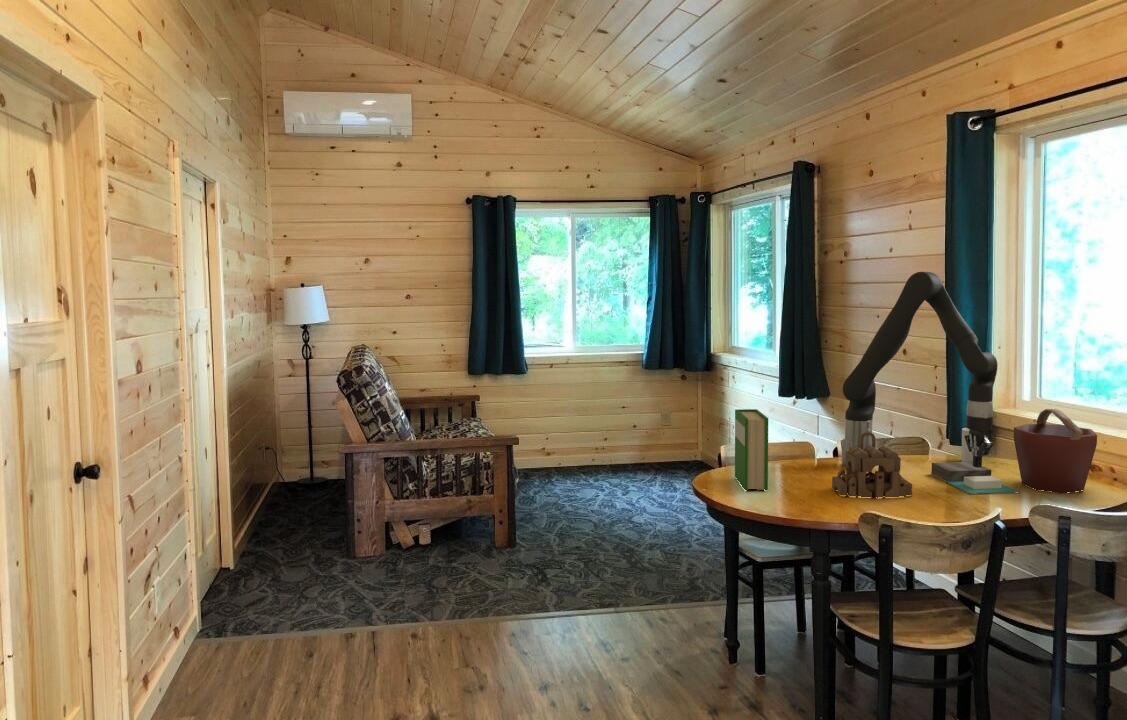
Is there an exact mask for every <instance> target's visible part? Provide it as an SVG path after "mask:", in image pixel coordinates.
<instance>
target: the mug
mask: <svg viewBox="0 0 1127 720" xmlns="http://www.w3.org/2000/svg"><path fill="white" fill-rule="evenodd" d="M969 430H970V429H968V428H967V427H964V428H961V462H973V455H972V452H969V449H968V446H967V443H966V440H965V437H964V436H965V435H969ZM983 457H984V456H982V458H983Z"/></svg>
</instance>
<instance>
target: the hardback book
mask: <svg viewBox="0 0 1127 720" xmlns="http://www.w3.org/2000/svg"><path fill="white" fill-rule="evenodd" d="M735 477H736V478H737V480H738V481H739V482H740V484H741V485H742V487H743V488H744V489H745V490H748V489H757V490H763V489H765V490H769V488H768V487H769V417H768V416H766V415H765V414H764V413H762V412H761V411H760V410H759V409H758V408H755V409H750V408H749V409H747V408H746V409H745V408H744V409H740V408H739V409H735V410H734V478H735ZM748 491H749V490H748Z"/></svg>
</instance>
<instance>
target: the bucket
mask: <svg viewBox="0 0 1127 720" xmlns="http://www.w3.org/2000/svg"><path fill="white" fill-rule="evenodd" d="M1051 414H1053V415H1054V416H1055V417H1056V418H1057V419H1058V420H1059V421H1060V422H1061V423H1062V424H1058V423H1057V424H1055V423H1053V424H1051V423H1047V420H1048V419H1049V416H1050V415H1051ZM1013 442H1014V447H1015V452H1016V458H1017V459H1016V460H1017V463H1018V470H1019V475H1020V480H1021V485H1022V484H1024V485H1023V486H1025V485H1027V486H1029V487H1031V488H1034V489H1036V490H1044V491H1052V492H1059V493H1058V494H1060V493H1067V492H1075V491H1081V490H1084V491H1085V488H1086V484H1087V480H1088V477H1089V473H1090V470H1091V466H1092V464H1093V463H1092V462H1093V458H1094V456H1095V453H1096V449H1097V445H1098V435H1097V433H1096V432H1095V431H1094V430H1093V429H1091V428H1086V427H1079V426H1078V425H1077V424H1076V423H1074V422H1073V420H1072V419H1071V418H1070V417H1068V416H1067V415H1066V414H1065V413H1064V412H1063V411H1061V410H1060V409H1056V408H1045V409H1044V410H1042V411H1040V412H1039V414H1038V415H1037V419H1036V423H1025V424H1022V425H1019V426H1015V427H1013ZM1027 486H1026V487H1027ZM1029 487H1028V488H1029ZM1031 488H1030V489H1031ZM1034 489H1033V490H1034ZM1036 490H1035V491H1036ZM1044 491H1043V492H1044ZM1052 492H1051V493H1052Z"/></svg>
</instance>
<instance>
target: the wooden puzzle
mask: <svg viewBox="0 0 1127 720" xmlns="http://www.w3.org/2000/svg"><path fill="white" fill-rule="evenodd" d="M866 435H870V436H871V437H872V446H867V447H865V448H864V450H863V442H864V436H866ZM901 460H902V459H901V457H900V456H899V454H898V452H897V451H895V450H893V449H892V448H890V447H888V446H886V445H882V446H879V447H878V448H876V436H875V434H874V433H873V432H872V433H870V432H865V433H863V434H862V435H861V436H860V448H859V447H857V446H853V447H850V448H849V451H846V466H845V467H846V469H843V468H842V469H840V470H839V471H838V472H837V476H832V477H831V478H832V479H831V486H832V487H831V489H832V488H833V489H834V490H838V491H837V495H838V494H840V495H847V493H848V495H849V496H856V495H857V496H861V497H872V498H873V497H874V496H875V497H877V498H878V497H883V496H885V497H899V496H904V497H906V495H912V496H913V483H912V482H910V481H908V480H907V479H905V478H904V477H903V476H902V474H900V472H901V464H902V463H901ZM877 466H878V467H877ZM876 467H877V470H876V471H874V472H872V471H873V470H874V468H876ZM833 489H832V490H833ZM834 490H833V491H834ZM873 492H874V494H873ZM848 495H847V496H848ZM875 497H874V498H875ZM883 498H884V497H883ZM906 498H907V497H906Z"/></svg>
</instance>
